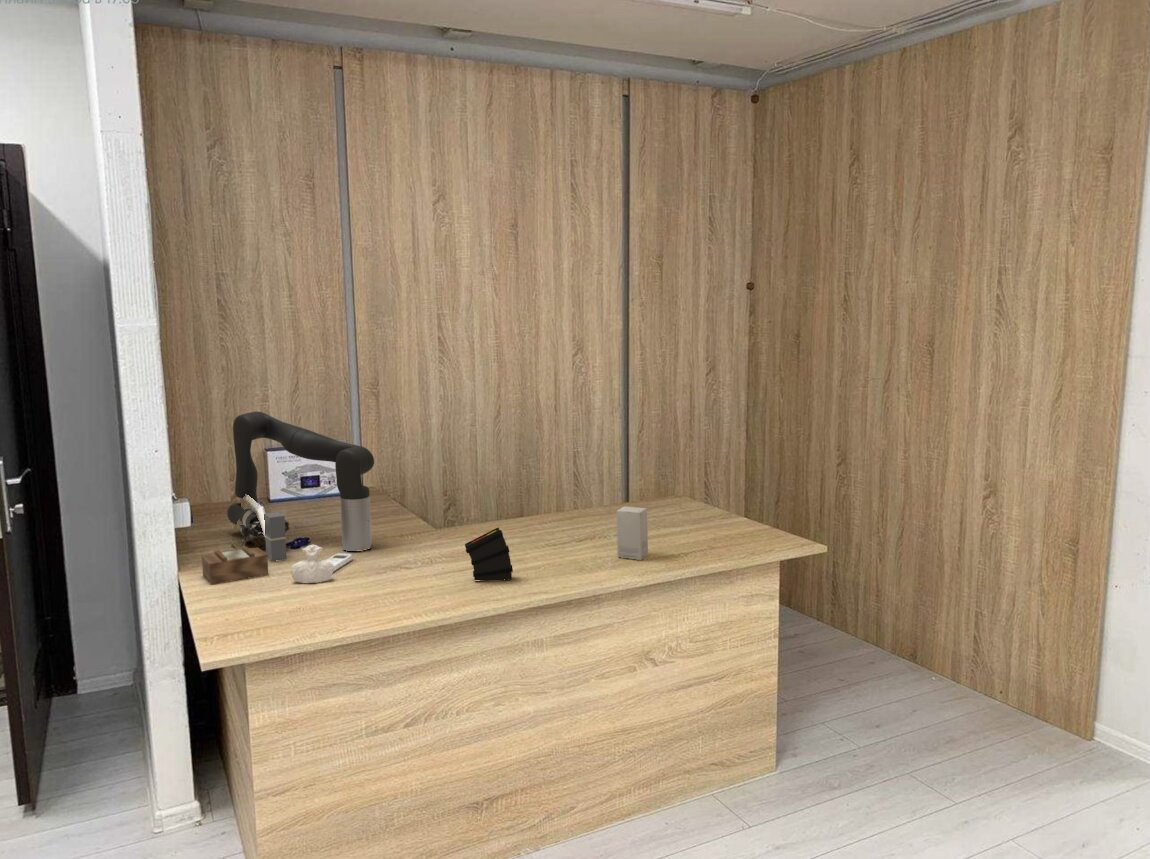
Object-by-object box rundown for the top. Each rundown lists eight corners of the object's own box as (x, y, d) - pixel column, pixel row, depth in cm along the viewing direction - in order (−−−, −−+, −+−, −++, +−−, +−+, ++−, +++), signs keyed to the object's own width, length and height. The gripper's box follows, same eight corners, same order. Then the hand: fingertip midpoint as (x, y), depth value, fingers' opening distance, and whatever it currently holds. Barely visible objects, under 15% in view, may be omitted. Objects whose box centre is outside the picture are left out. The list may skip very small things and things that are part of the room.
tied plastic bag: (334, 586, 255) (335, 550, 260) (332, 577, 248) (333, 540, 254) (291, 589, 253) (293, 552, 258) (288, 579, 246) (290, 542, 252)
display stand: (258, 566, 267) (257, 544, 266) (268, 574, 259) (267, 551, 258) (203, 575, 258) (201, 552, 257) (210, 584, 250) (209, 560, 249)
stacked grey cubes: (266, 557, 277) (263, 513, 275) (281, 555, 279) (278, 511, 277) (271, 562, 272) (269, 517, 270) (286, 559, 274) (284, 515, 272)
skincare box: (648, 556, 278) (648, 507, 275) (641, 561, 272) (641, 512, 270) (623, 553, 281) (624, 505, 279) (615, 558, 275) (616, 509, 273)
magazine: (523, 574, 253) (500, 529, 250) (482, 595, 252) (458, 550, 250) (522, 570, 257) (499, 526, 254) (481, 591, 256) (458, 547, 253)
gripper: (233, 514, 286) (246, 523, 273) (278, 508, 294) (293, 517, 281) (235, 536, 287) (248, 547, 274) (279, 530, 295) (294, 540, 282)
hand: (270, 532), depth 278 cm, fingers open, 8 cm apart
